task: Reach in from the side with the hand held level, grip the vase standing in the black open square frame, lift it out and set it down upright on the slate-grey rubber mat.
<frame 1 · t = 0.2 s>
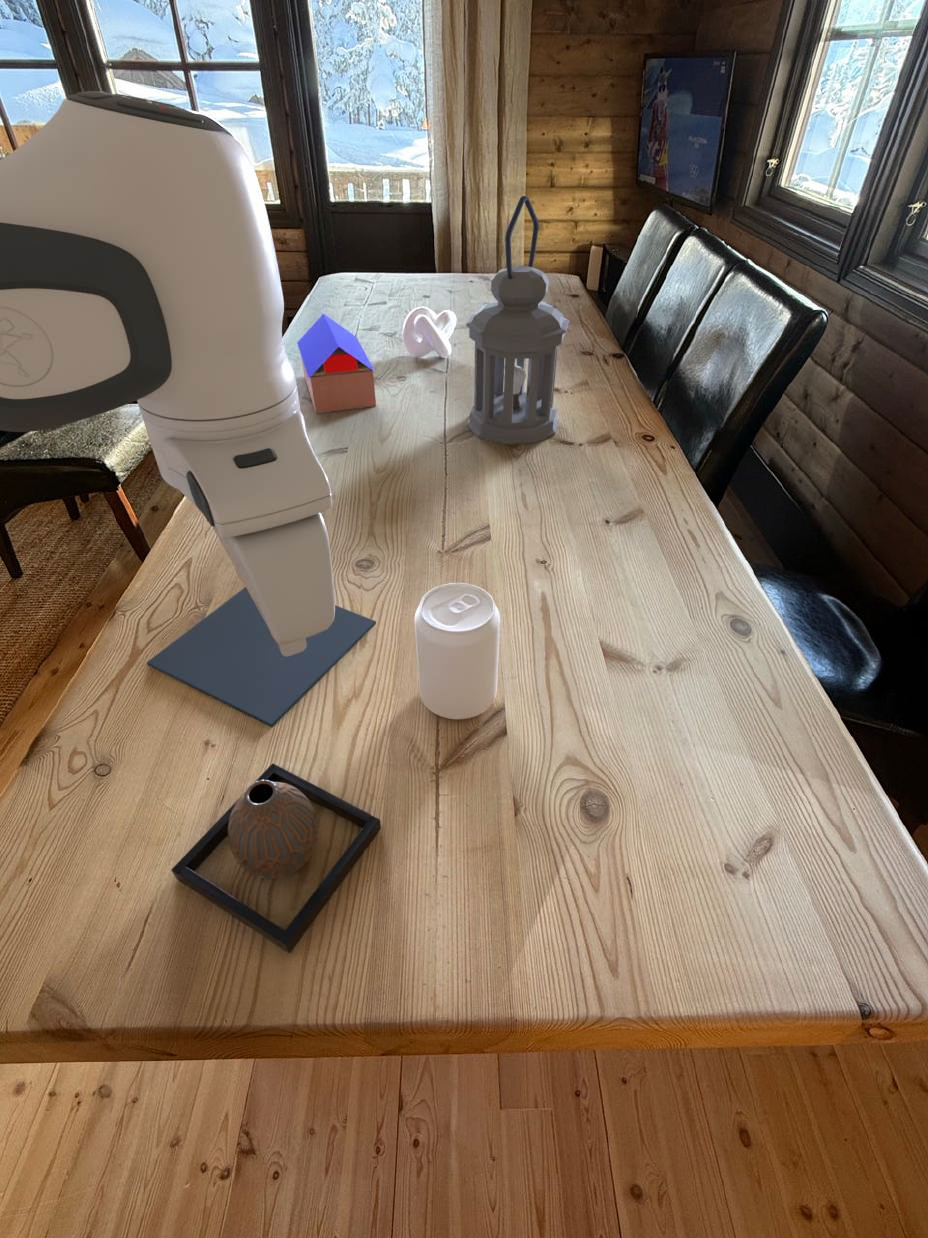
hand: (270, 610, 49), 20 cm above the table, tool pointing down, fingers open, 8 cm apart
beverage can: (458, 695, 69), on the table
lantern: (512, 424, 119), on the table
vase: (282, 854, 56), resting in black open square frame
white knot sculpture: (432, 356, 146), on the table
house: (338, 391, 131), on the table
mat: (265, 643, 75), on the table
black open square frame: (282, 853, 55), on the table
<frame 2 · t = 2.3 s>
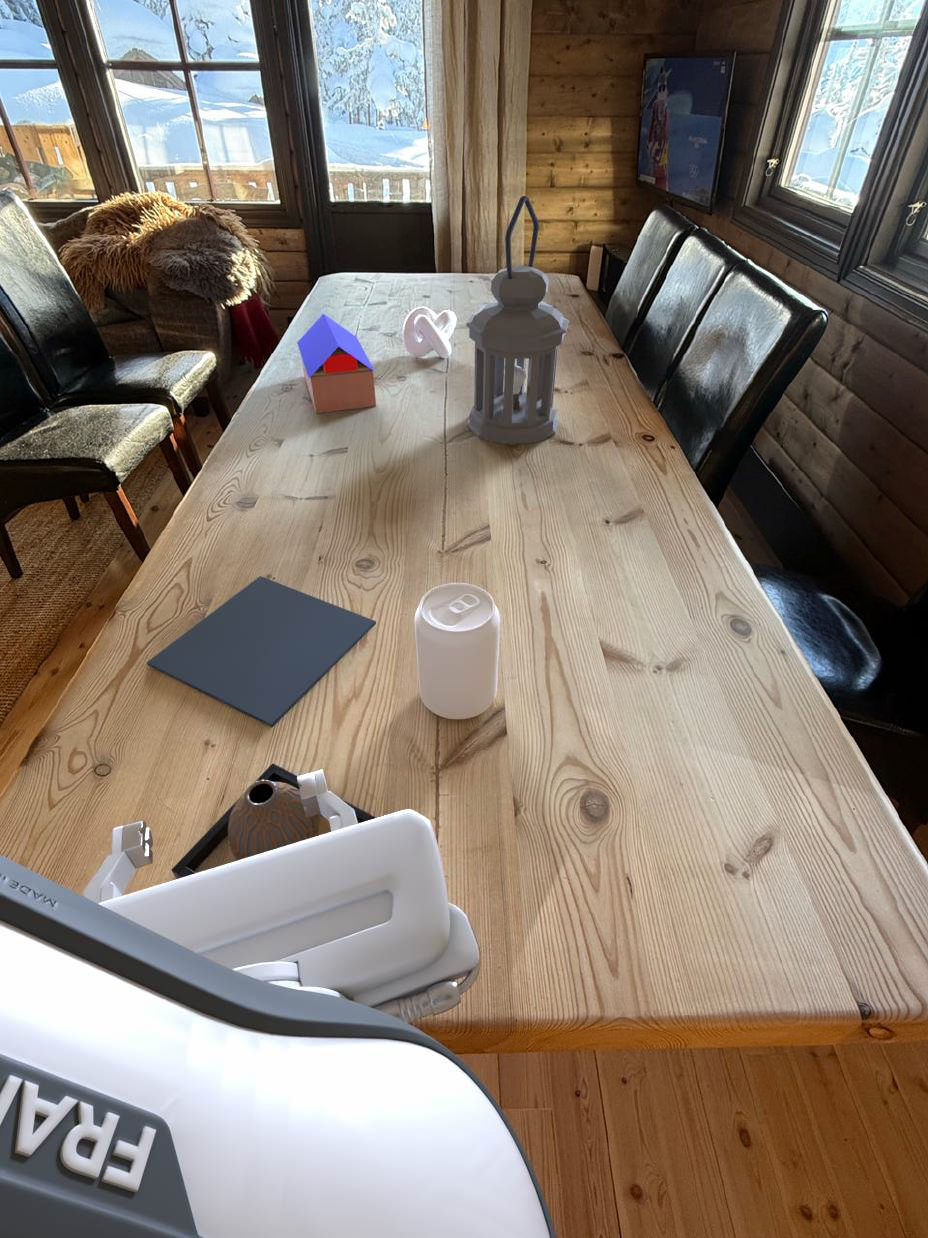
hand: (225, 803, 36), 20 cm above the table, tool horizontal, fingers open, 8 cm apart
nothing on the table moved.
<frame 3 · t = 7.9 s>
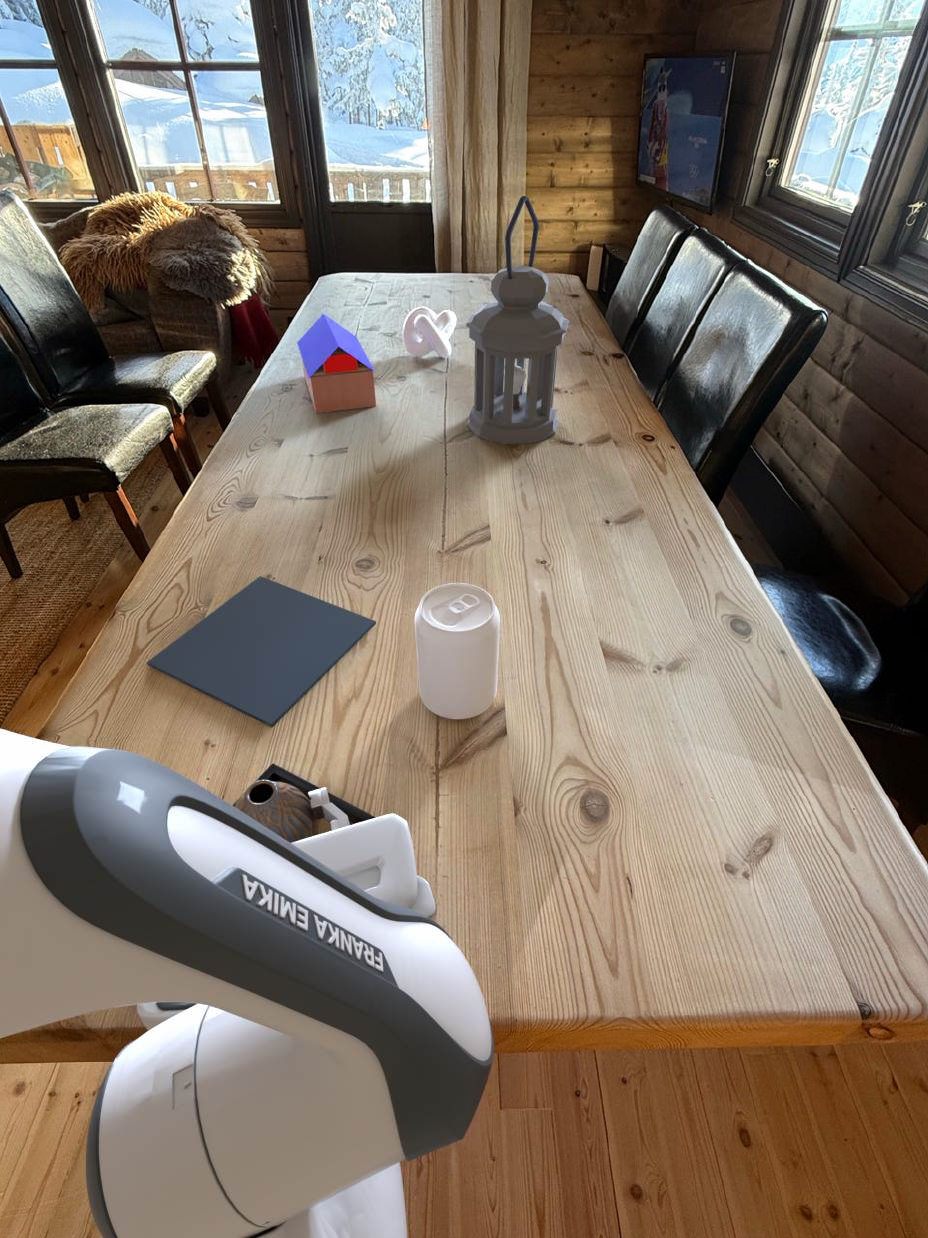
hand: (267, 807, 52), 5 cm above the table, tool horizontal, fingers closed on vase, 6 cm apart
vase: (282, 854, 56), resting in black open square frame, touching gripper
everything else where it was.
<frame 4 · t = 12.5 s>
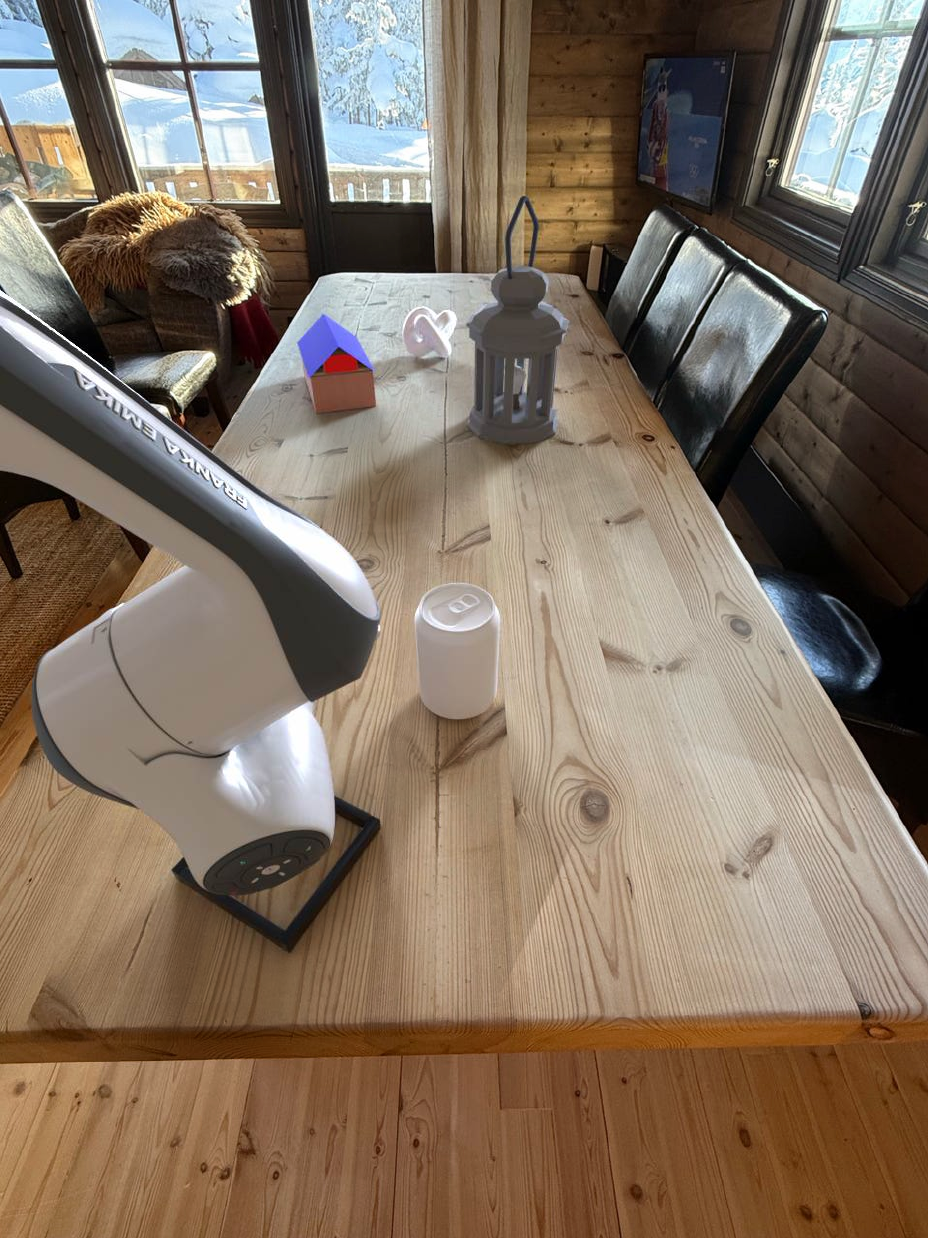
hand: (232, 568, 58), 17 cm above the table, tool horizontal, fingers closed on vase, 6 cm apart
vase: (248, 623, 61), point 11 cm above the table, touching gripper
everything else where it was.
when the fingers open (6 cm above the table, at t = 17.2 s): vase stays where it is, resting on mat.
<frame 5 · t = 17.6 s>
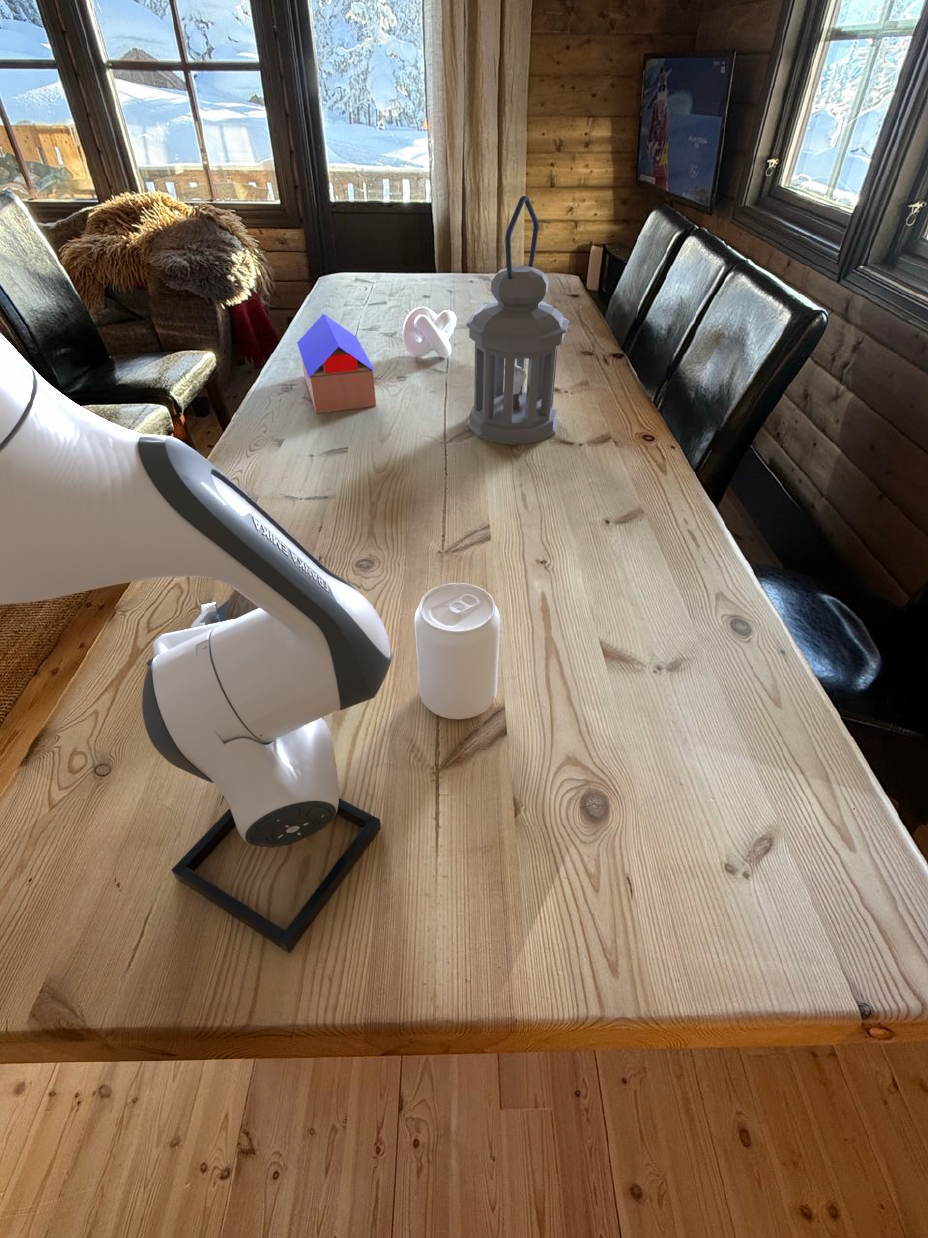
hand: (255, 599, 72), 6 cm above the table, tool horizontal, fingers open, 8 cm apart
vase: (266, 642, 75), resting on mat
everything else where it was.
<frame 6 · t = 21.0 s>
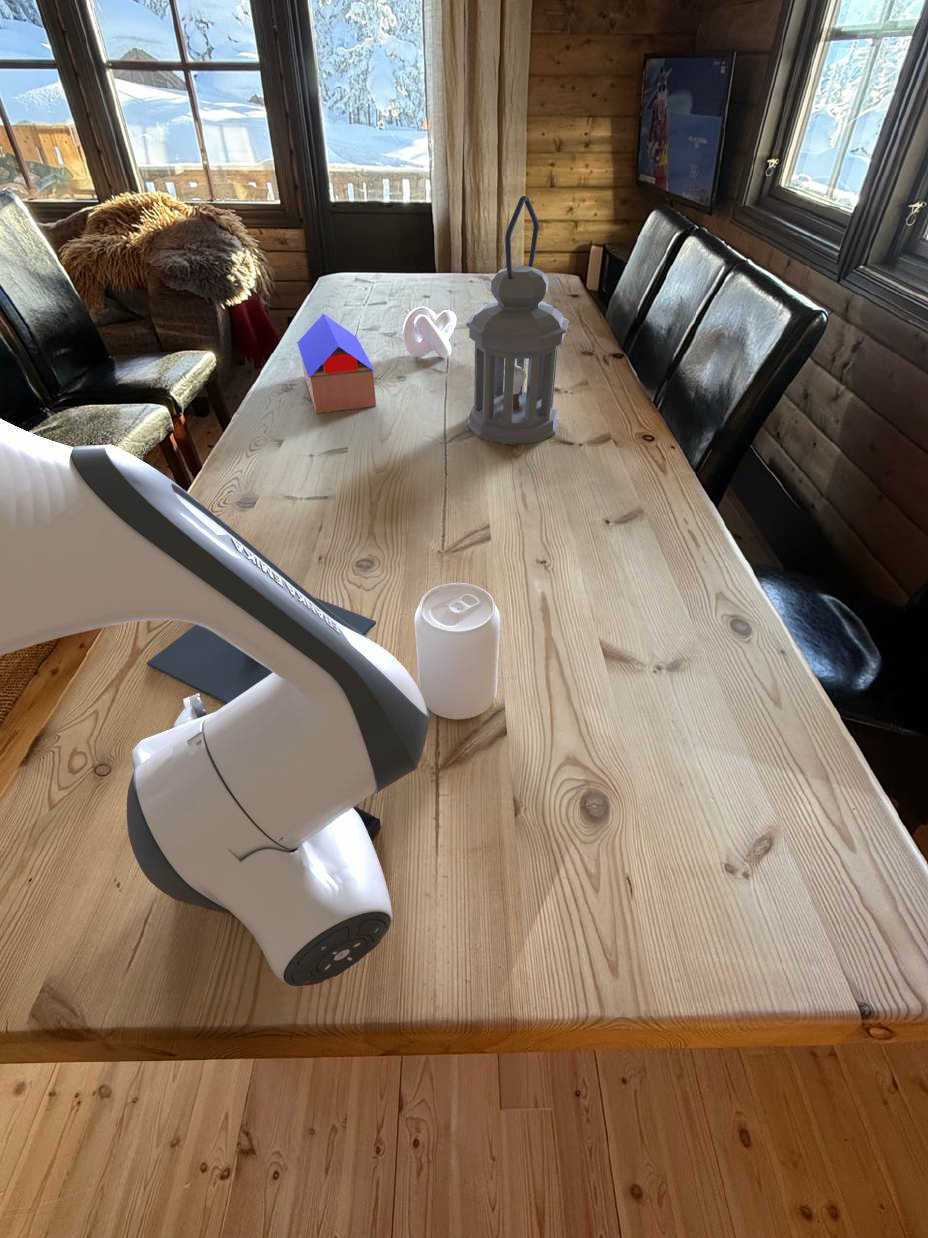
hand: (244, 682, 62), 6 cm above the table, tool horizontal, fingers open, 8 cm apart
nothing on the table moved.
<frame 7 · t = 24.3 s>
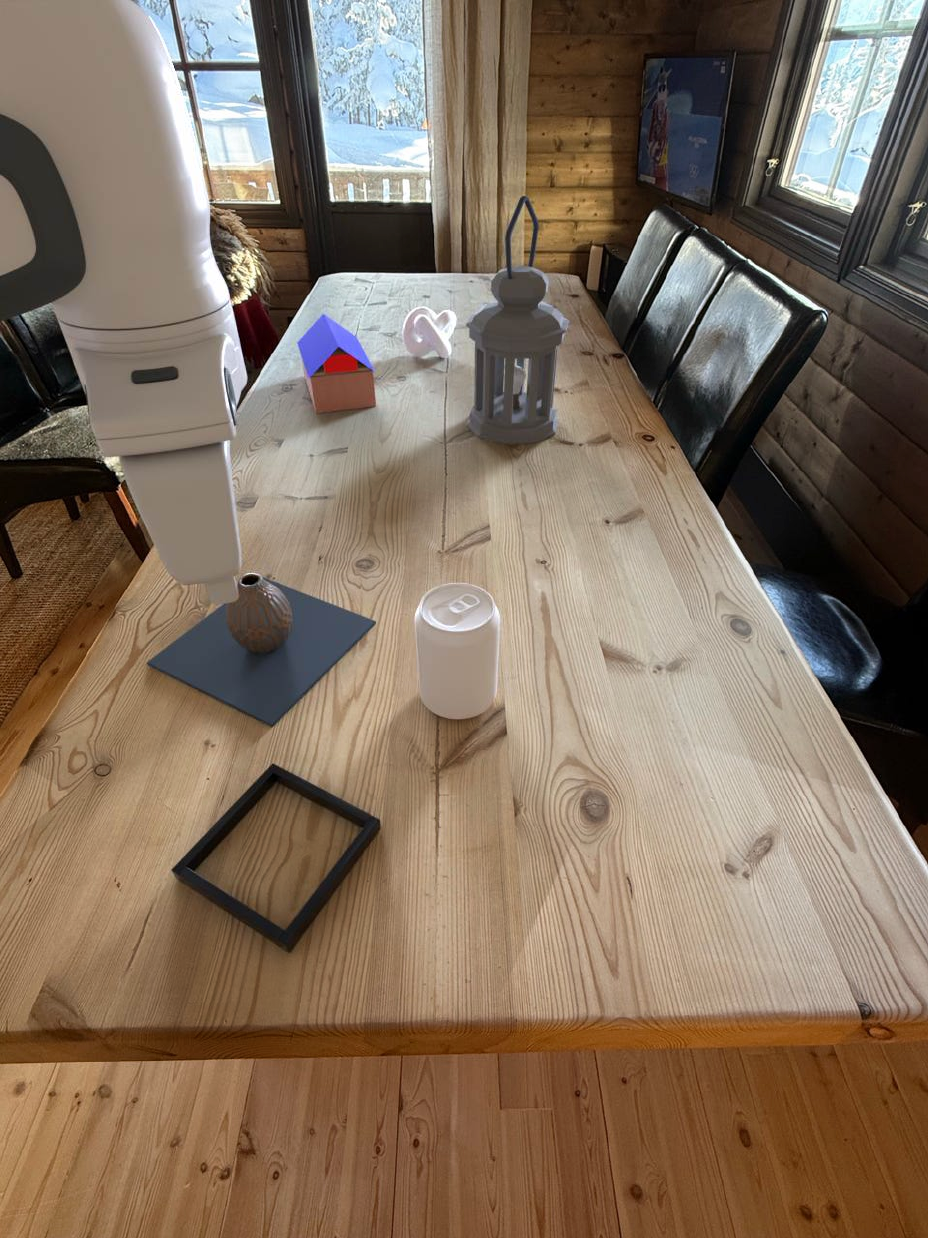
hand: (220, 557, 46), 24 cm above the table, tool pointing down, fingers open, 8 cm apart
nothing on the table moved.
at the end: vase inside the target area on the mat (0.1 cm from its centre), point 0.2 cm above the mat's base; vase tilted 0°; the gripper is holding nothing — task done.
